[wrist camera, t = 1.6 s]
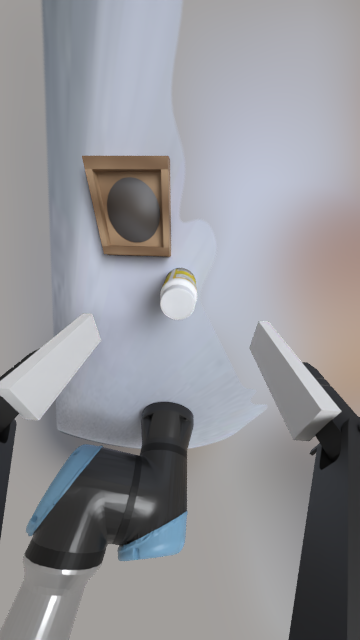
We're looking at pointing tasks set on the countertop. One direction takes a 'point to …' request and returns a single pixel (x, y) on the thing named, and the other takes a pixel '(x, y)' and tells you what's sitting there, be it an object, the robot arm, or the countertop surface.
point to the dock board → (131, 203)
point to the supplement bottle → (178, 294)
